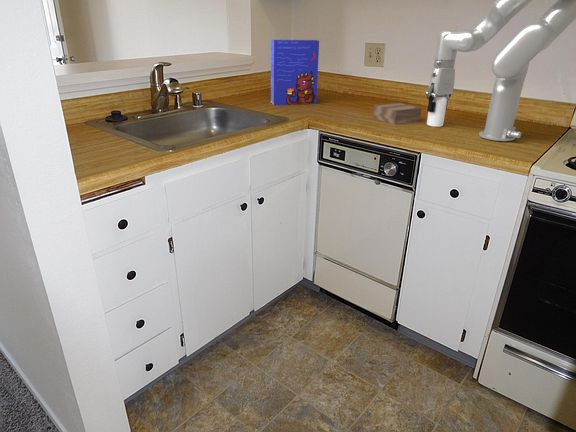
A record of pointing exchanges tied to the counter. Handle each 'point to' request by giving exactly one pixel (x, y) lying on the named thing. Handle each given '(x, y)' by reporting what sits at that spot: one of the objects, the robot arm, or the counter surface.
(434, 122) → the can
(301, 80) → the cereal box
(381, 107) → the walnut block
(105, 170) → the counter surface
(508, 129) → the robot arm
